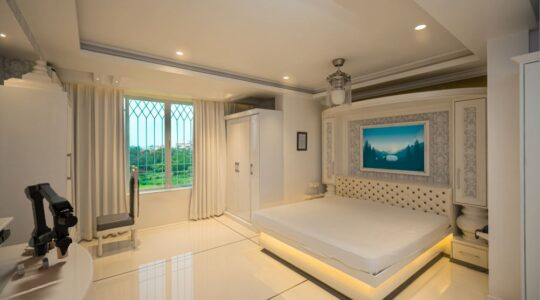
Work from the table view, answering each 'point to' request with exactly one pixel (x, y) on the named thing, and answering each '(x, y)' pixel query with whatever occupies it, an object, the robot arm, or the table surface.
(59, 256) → the orange-tan rounded capsule
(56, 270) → the table surface
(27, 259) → the table surface
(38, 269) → the board
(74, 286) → the table surface
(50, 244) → the alarm clock
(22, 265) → the clamp jaws
